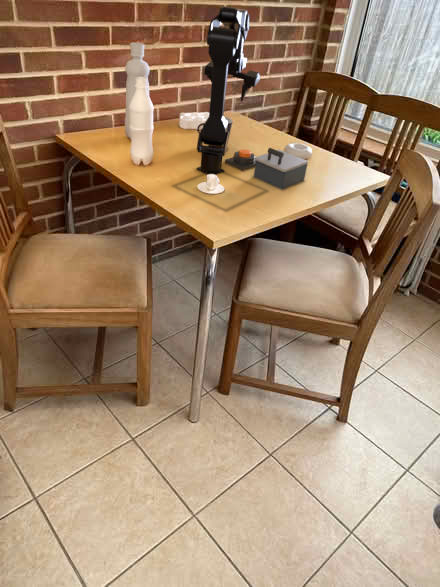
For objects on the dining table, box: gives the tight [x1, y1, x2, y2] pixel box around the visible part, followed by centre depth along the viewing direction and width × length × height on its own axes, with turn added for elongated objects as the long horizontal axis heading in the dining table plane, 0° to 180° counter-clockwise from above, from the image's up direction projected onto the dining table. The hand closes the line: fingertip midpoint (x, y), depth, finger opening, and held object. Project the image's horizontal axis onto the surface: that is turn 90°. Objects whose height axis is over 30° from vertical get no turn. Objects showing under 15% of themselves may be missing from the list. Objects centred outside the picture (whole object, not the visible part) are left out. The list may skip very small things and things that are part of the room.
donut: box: [283, 142, 313, 160], centre depth 163 cm, size 10×4×10 cm
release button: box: [238, 148, 252, 158], centre depth 151 cm, size 4×4×2 cm
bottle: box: [124, 42, 151, 140], centre depth 153 cm, size 9×9×30 cm
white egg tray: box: [178, 111, 209, 131], centre depth 180 cm, size 3×18×15 cm
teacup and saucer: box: [196, 174, 225, 195], centre depth 133 cm, size 9×8×4 cm
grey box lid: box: [255, 147, 309, 172], centre depth 140 cm, size 12×12×4 cm
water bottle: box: [129, 77, 155, 166], centre depth 137 cm, size 7×7×25 cm
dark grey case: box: [253, 160, 309, 191], centre depth 143 cm, size 12×12×6 cm
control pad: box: [224, 150, 256, 172], centre depth 152 cm, size 10×8×3 cm
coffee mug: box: [196, 116, 234, 148], centre depth 159 cm, size 12×9×10 cm
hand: (229, 98), depth 161 cm, fingers open, 9 cm apart
